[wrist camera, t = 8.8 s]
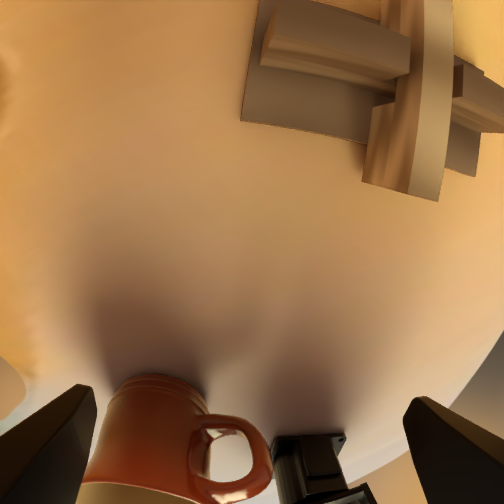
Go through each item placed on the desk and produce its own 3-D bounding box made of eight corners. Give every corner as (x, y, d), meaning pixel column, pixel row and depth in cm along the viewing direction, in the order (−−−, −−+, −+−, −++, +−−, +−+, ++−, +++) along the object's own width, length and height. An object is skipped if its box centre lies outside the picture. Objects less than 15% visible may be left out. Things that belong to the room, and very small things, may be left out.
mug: (146, 446, 23) (131, 545, 14) (85, 375, 21) (37, 481, 11) (277, 411, 23) (302, 523, 13) (230, 325, 20) (240, 456, 10)
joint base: (468, 175, 19) (527, 188, 13) (240, 120, 17) (248, 106, 11) (477, 72, 16) (533, 64, 11) (260, -4, 14) (275, -55, 9)
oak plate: (388, 187, 18) (437, 202, 13) (361, 181, 17) (407, 194, 13) (405, 9, 14) (450, -17, 9) (381, -1, 14) (422, -32, 9)
